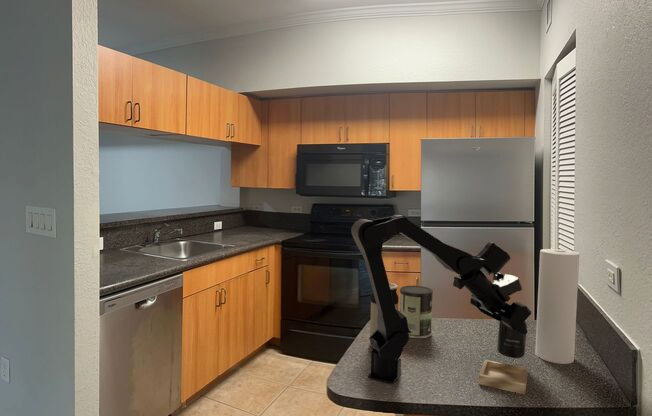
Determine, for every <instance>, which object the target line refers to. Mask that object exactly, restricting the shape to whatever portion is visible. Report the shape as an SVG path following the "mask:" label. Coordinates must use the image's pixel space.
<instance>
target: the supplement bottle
mask: <svg viewBox="0 0 652 416" xmlns="http://www.w3.org/2000/svg"><path fill="white" fill-rule="evenodd" d="M503 313H504V312H503ZM524 323H525V326H526V328H527V329H528V323H527V321H526V320H525V321H524ZM503 324H504V323H503V322H502V321H501V318H500V319H499V321H498V327H497V339H496V342H497V344H496V350H497V352H498V353H499V354H500V355H502V356H505V357H508V358H513V359H522V358H523V357H525V356H526V348H527V345H526V344H527V336H528V333H527V334H526V335H524V334H522V333H520V332H518V331H515V330H513V329H511V328H509V327H507V326H505V325H503Z"/></svg>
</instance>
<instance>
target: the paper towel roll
mask: <svg viewBox="0 0 652 416" xmlns="http://www.w3.org/2000/svg"><path fill="white" fill-rule="evenodd" d="M579 268H580V252H578V251H574V250H569V249H560V248H544V249H540V251H539V267H538V270H539V271H538V287H537V288H538V289H537V290H538V291H537V310H536V311H537V313H536V330H535V331H536V332H535V350H534V351H535V353H534V355H535V356H536V357H538V358H539V357H540V358H539V359H541V360H543V361H546V362H550V363H553V364H558V365H559V364H561V365H568V364H571V363H574V361H575V346H576V345H575V342H576V329H577V328H576V324H577V309H578V308H577V307H578V306H577V305H578V287H579V272H580V270H579Z"/></svg>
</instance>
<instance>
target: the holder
mask: <svg viewBox="0 0 652 416" xmlns="http://www.w3.org/2000/svg"><path fill="white" fill-rule="evenodd" d="M527 381H528V367H523V366H517V365H514V364H507V363H503V362H498V361H494V360H489V359H484V360H483V364H482V367H481V368H480V372H479V375H478V385H481V386H486V387H490V388H495V389H498V390H503V391H506V392H512V393H515V392H516V393H515V394H520V395H525V396H526V391H527Z"/></svg>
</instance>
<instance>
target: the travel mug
mask: <svg viewBox="0 0 652 416" xmlns="http://www.w3.org/2000/svg"><path fill="white" fill-rule="evenodd" d="M389 285H390V289H391V293H392V297H393V300H394V304H395V308H396V310H399V303H400V296H399V294H398V293H397V289H398V287H399V285H398V284H396V283H392V282H389ZM377 317H378V308H377V304H376V300H375V297H374V293H373V292H372V293H371V294H370V320H369V321H370V324H369V326H370V329H369V331H370V332H369V333H370V334H369V337H370V336H371V335H372V334H373V333H374V332H375V331H376V330H377V329H378V324H377ZM369 344H370V346H371V348H374V347H373V346H372V345H371V343H370V342H369Z"/></svg>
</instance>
